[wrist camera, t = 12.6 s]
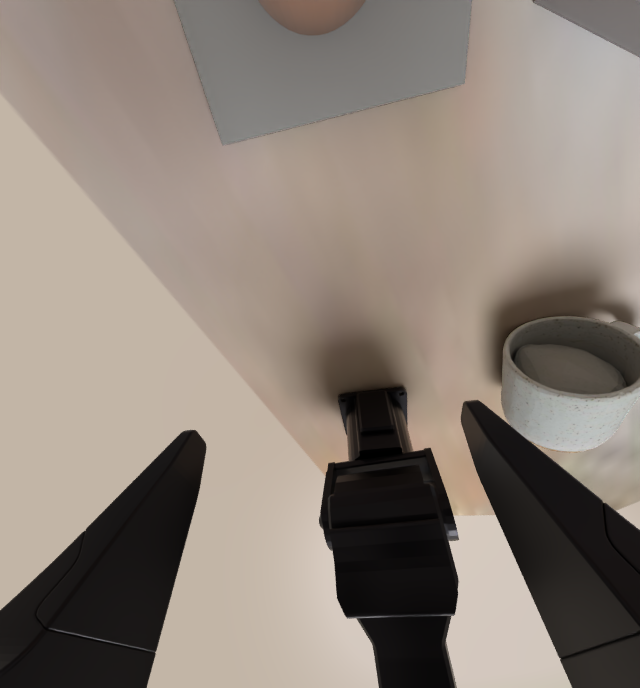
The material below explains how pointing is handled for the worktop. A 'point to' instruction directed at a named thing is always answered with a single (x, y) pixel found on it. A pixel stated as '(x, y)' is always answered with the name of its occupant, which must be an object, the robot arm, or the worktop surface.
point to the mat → (320, 61)
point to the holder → (603, 19)
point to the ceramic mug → (570, 380)
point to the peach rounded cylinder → (311, 14)
